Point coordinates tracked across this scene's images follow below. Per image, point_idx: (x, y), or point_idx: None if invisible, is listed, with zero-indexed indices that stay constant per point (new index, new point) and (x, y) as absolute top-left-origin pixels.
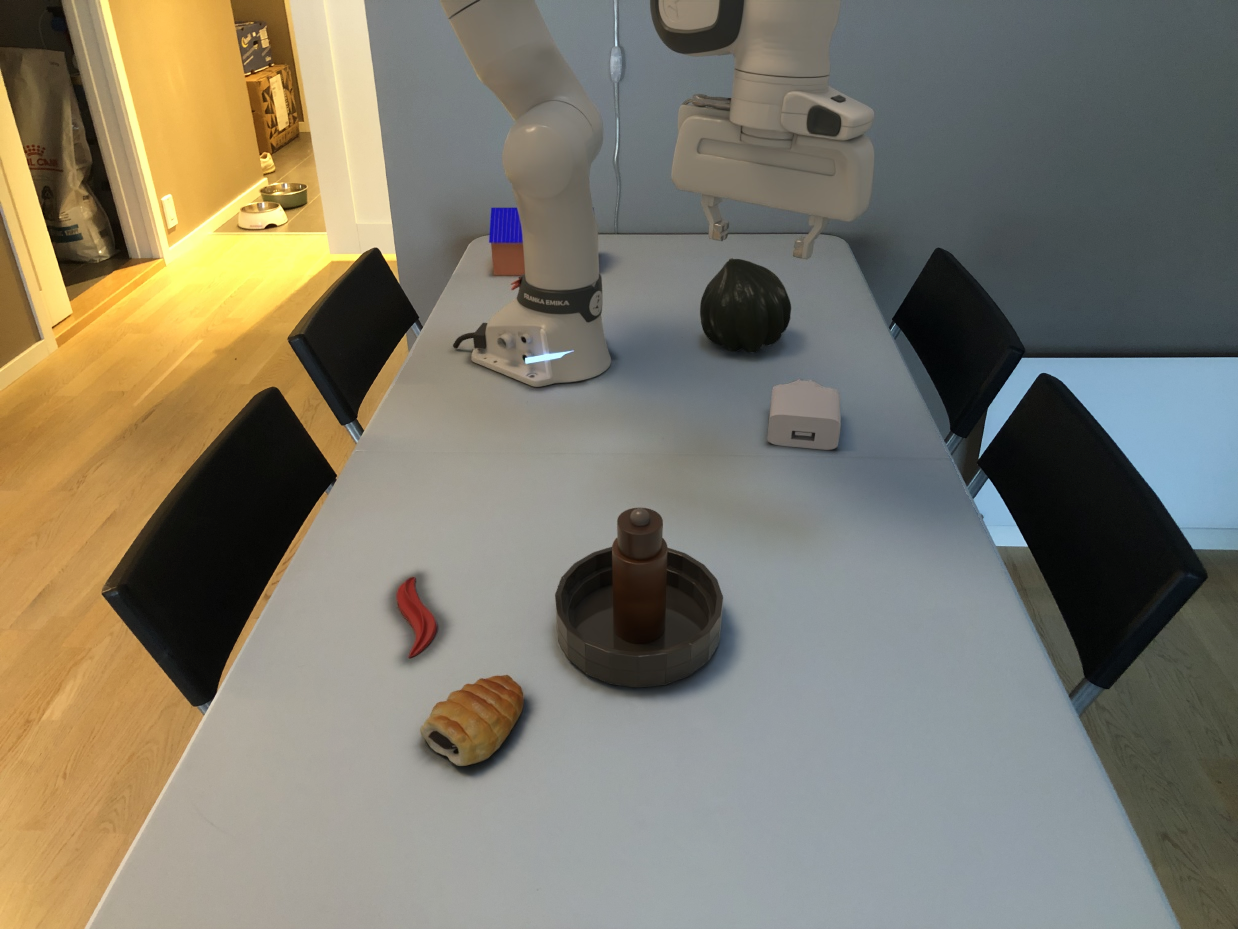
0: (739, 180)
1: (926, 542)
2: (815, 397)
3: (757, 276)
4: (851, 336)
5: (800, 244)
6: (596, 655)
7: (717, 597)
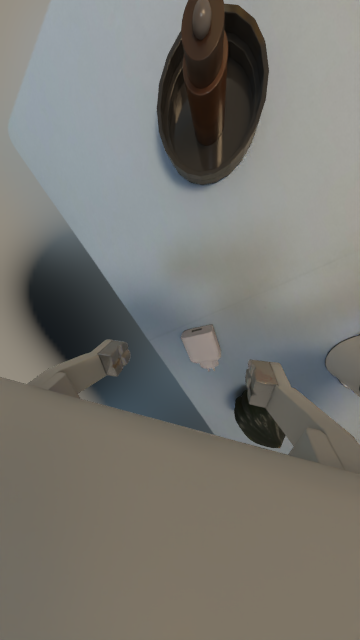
0: (209, 560)
1: (131, 286)
2: (197, 352)
3: (257, 434)
4: (210, 410)
5: (104, 351)
6: None
7: (167, 146)
